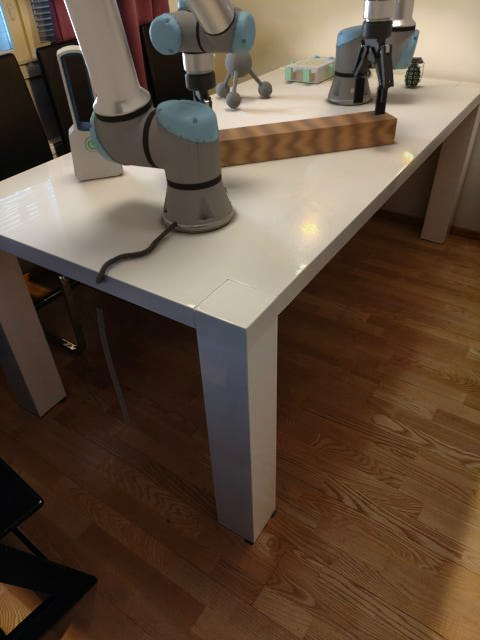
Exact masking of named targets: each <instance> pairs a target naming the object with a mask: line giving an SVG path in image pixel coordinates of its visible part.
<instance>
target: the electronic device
mask: <svg viewBox="0 0 480 640" xmlns="http://www.w3.org/2000/svg"><path fill="white" fill-rule="evenodd" d="M70 56H71V57H72V56H79V57H81V58H82V62H83V63H82V64H83V67H84V71H85V76H86V80H87V81H86V82H87V86H88V90H89V94H90V98H91V103H92V105H93V104H94V102H95V100H96V98H97V95H96V92H95V89H94V86H93V83H92V80H91V77H90V74H89V71H88V69H87V66H86V63H85V60H84V57H83V54H82V51H81V48H80V45H77V44H76V45H75V44H72V45H66V46H62V47H61V48H59V49H58V50H56V58H57V63H58V67H59V71H60V75H61V78H62V82H63V87H64V91H65V94H66V95H65V96H66V99H67V102H68V106H69V112H70V115H71V118H72V123H73V124H72V125H71V126H70V127H69V129H68V139H69V145H70V152H71V153H70V154H71V157H72V158H71V160H72V165H73V171H74V177H75V178H77V179H78V180H79V181H89V180H96V179H102V178H108V177H116V176H120V175H122V172H123V171H124V167H123V165H121V164H118V163H113V162H110V161H108V160H106V159H104V158H103V157H102V156H101V155H100V154H99V153H98V151H97V150H96V148H95V147H94V144H93V142H92V139H91V135H90V128H92V125H91V124H90V121H80V117H79V112H78V108H77V105H76V101H75V96H74V93H73V89H72V84H71V80H70V79H71V78H70V75H69V70H68V67H67V62H66V58H67V57H70Z"/></svg>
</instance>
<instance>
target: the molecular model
mask: <svg viewBox="0 0 480 640" xmlns="http://www.w3.org/2000/svg"><path fill="white" fill-rule="evenodd" d="M234 8H235V10H236V11H237V12H238V11H243V9H242V8H240V7H237V6H234ZM224 66H225V70H226V71H227V74H226V77H225V79H224V81H221V82H219V83H218V84H216V87H215V93H216V95H217V96H218V97H219V98H223V99H224V98H225V103H226V105H227V107H228V108H231V109H236V108H238V107H240V105H241V103H242V97H241V94H240V93H239V92H237V89H238V80H239V79H241V78H244V77H246V76H247V75H248V74H249V75H250V77H251V78H252V79H253V80H254V81H255V83H257V85H258V87H257V92H258V94H259V96H260V97H262V98H268V97H270V96H271V95H272V93H273V86H272V84H271V83H270V81H266V80H265V81H264V80H263V81H262V80H261V79H260V78H259V77H258V76H257V74H256V73H255V72H254V71H253V70H252V68H253V67H252V66H253V59H252V56H251V54H250V51H249V52H246V53H235V54H232V53H226V56H225V59H224ZM231 76H232V77H233V78H232V79H233V80H232V86H231V88H230V85H229V81H230V79H231Z"/></svg>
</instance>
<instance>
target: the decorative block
mask: <svg viewBox="0 0 480 640" xmlns="http://www.w3.org/2000/svg"><path fill="white" fill-rule="evenodd" d="M334 74H335V57H334V56H329V57H327V56H319V55H314V56H313V57H310V58H304V59H300V60H298V61H293V60H292V61H290V64H287V66H286V67H284V81H287V82H288V81H289V82H297V83H309V84H319V83H321V82H324V81H326V80H328V79H330V78H334Z"/></svg>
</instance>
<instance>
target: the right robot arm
mask: <svg viewBox="0 0 480 640" xmlns="http://www.w3.org/2000/svg"><path fill="white" fill-rule="evenodd" d="M414 8H415V0H364V1H363V12H362V19H364V21H362V24H360V25H354V26H353V25H352V26H349V27H346V28H345V27H344V28H343V29H341V30H339V31H338V33H337V36H336V44H335V56H334V58H335V74H334V76H333V79H332V81H331V85H330V88H329V90H328V94H327V102H329V103H331V104H335V105H340V106H356V105H363V104H367V103H369V102H370V101H371V98H372V96H371V95H372V94H371V89H370V87H371V86H370V82H369V77H370V76H371V75H372V71H371V70H375V73H376V78H377V82H378V83H377V84H378V85H377V87H376V95H375V105H374V111H375V112H374V115H383V114H385V112H386V107H387V100H388V94H389V89H390V88H394V86H395V81H394V71H396V70H408V69H407V68H408V67H409V66H410V64H411V61H412V58H413V57H414V55H415V52H416V48H417V45H418V41H419V36H420V30H419V29H417V27H416V26H417V22H416V21H415V20H414V18H413V14H414Z"/></svg>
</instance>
